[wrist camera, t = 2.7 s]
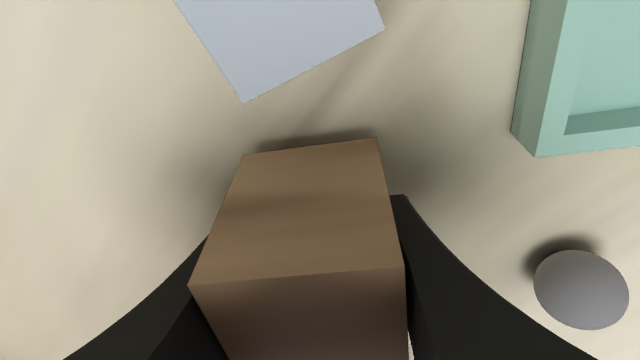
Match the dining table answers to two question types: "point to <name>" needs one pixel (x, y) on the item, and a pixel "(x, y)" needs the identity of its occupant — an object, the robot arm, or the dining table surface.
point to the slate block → (277, 36)
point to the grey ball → (581, 289)
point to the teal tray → (579, 77)
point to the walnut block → (306, 259)
